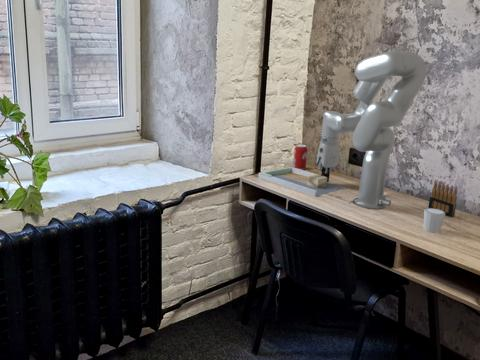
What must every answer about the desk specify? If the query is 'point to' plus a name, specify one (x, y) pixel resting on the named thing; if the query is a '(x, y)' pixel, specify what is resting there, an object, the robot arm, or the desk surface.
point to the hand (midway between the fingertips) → (324, 181)
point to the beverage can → (300, 157)
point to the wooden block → (316, 181)
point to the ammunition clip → (443, 199)
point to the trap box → (276, 178)
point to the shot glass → (433, 220)
